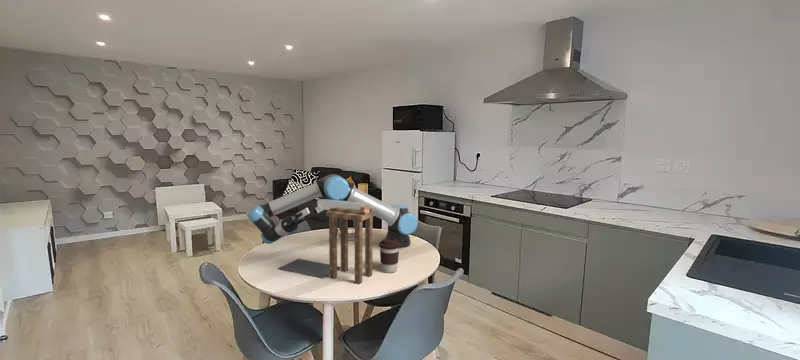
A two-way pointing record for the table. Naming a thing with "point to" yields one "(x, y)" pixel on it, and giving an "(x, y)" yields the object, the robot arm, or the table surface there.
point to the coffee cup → (389, 254)
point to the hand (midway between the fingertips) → (317, 207)
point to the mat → (308, 268)
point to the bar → (338, 204)
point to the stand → (345, 214)
